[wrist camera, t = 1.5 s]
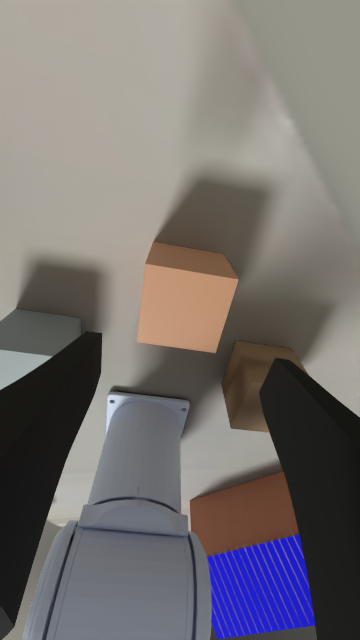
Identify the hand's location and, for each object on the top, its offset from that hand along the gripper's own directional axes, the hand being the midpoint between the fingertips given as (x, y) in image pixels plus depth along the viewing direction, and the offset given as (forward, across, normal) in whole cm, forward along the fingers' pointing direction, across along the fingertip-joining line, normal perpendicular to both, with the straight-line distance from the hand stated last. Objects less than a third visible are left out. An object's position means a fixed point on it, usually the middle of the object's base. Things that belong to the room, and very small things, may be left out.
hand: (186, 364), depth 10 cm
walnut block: (+10, -8, +7) cm, 14 cm away
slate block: (+10, +10, +7) cm, 15 cm away
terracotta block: (+10, 0, 0) cm, 10 cm away
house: (+10, -18, +30) cm, 36 cm away
